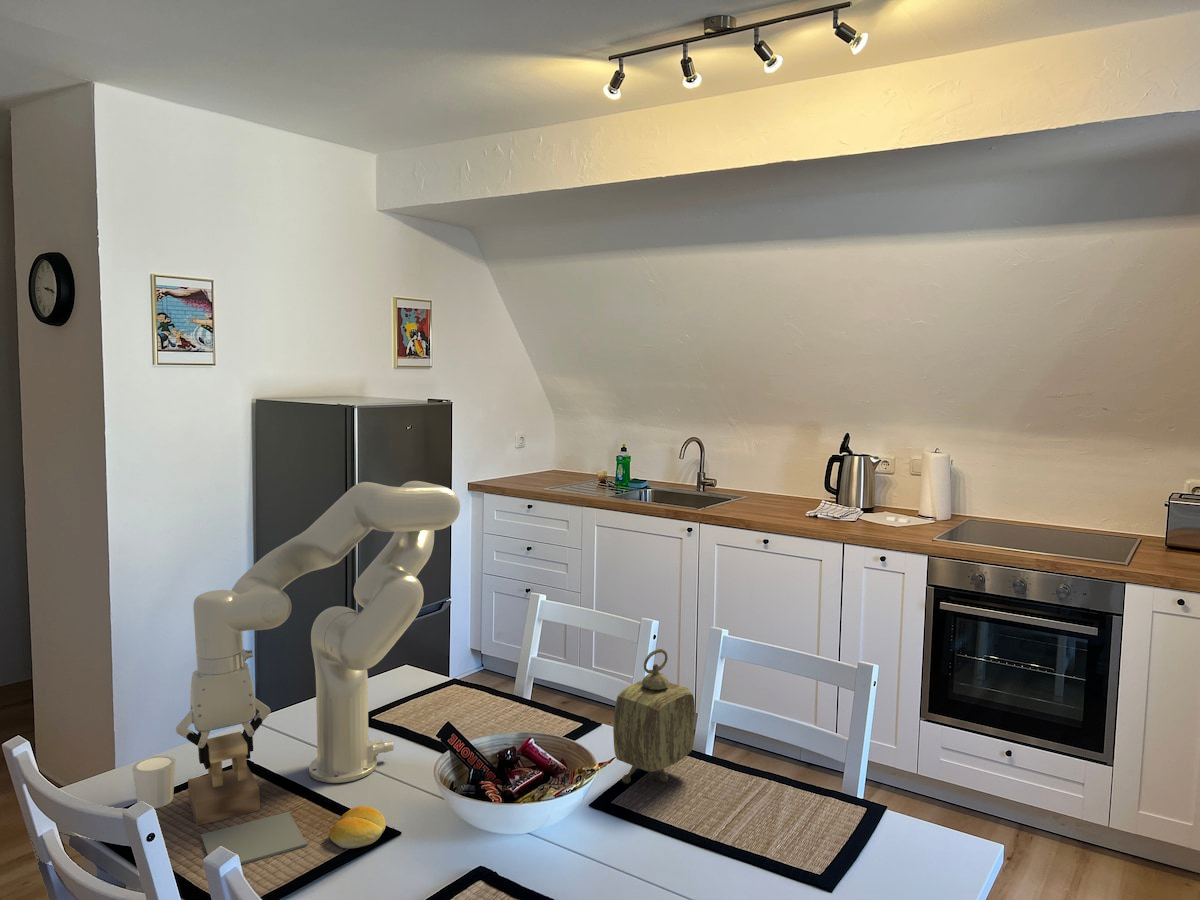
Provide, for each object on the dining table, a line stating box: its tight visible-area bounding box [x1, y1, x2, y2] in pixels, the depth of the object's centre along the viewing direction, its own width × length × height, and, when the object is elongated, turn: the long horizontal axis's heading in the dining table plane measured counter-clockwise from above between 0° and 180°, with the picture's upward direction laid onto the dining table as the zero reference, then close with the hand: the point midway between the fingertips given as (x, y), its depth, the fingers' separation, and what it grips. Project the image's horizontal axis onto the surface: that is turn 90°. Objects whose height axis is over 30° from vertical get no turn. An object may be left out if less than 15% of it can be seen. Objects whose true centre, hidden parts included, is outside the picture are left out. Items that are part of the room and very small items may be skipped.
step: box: [187, 765, 261, 826], centre depth 152 cm, size 10×10×4 cm
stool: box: [207, 731, 248, 787], centre depth 152 cm, size 6×6×6 cm
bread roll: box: [329, 805, 387, 849], centre depth 143 cm, size 8×9×4 cm
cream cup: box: [131, 755, 176, 809], centre depth 154 cm, size 7×7×7 cm
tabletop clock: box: [612, 648, 696, 784], centre depth 163 cm, size 14×9×25 cm, turn 139°
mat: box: [200, 811, 308, 865], centre depth 141 cm, size 14×12×1 cm
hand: (226, 760), depth 152 cm, fingers closed on stool, 6 cm apart
